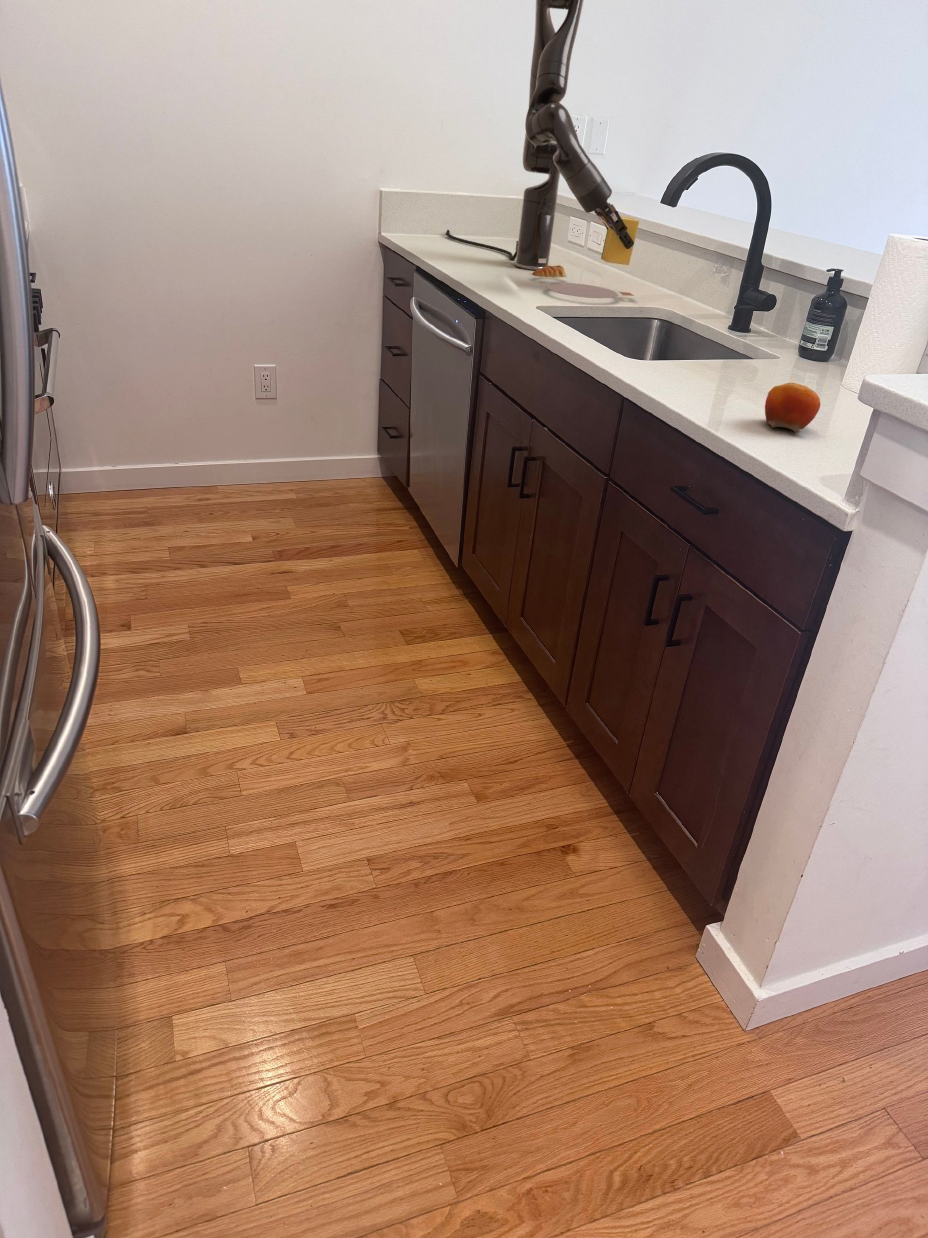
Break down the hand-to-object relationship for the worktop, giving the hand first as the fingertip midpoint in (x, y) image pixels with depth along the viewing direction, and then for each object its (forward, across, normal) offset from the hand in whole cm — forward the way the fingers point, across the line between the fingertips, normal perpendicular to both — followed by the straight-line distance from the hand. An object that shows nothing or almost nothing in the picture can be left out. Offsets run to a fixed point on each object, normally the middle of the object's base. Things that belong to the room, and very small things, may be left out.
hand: (627, 244), depth 214 cm
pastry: (0, +19, +19) cm, 27 cm away
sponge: (+1, 0, +5) cm, 5 cm away
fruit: (+8, -97, +9) cm, 98 cm away
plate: (+2, 0, +16) cm, 16 cm away
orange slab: (+10, 0, +8) cm, 13 cm away
